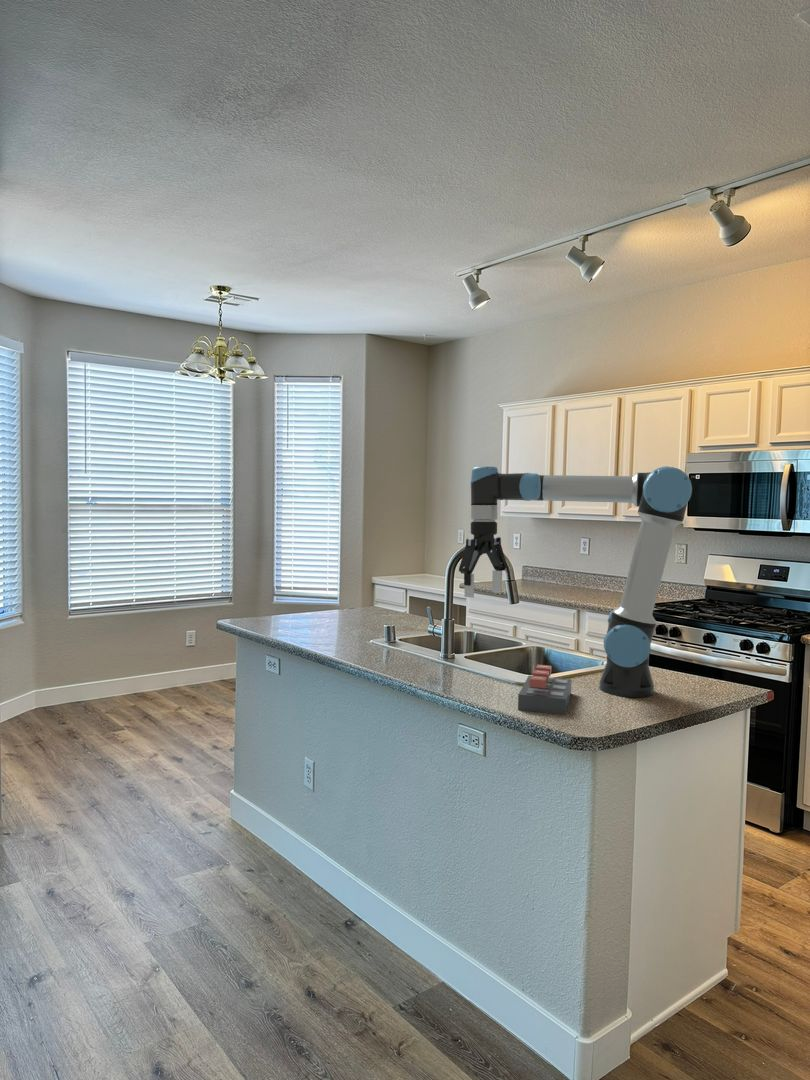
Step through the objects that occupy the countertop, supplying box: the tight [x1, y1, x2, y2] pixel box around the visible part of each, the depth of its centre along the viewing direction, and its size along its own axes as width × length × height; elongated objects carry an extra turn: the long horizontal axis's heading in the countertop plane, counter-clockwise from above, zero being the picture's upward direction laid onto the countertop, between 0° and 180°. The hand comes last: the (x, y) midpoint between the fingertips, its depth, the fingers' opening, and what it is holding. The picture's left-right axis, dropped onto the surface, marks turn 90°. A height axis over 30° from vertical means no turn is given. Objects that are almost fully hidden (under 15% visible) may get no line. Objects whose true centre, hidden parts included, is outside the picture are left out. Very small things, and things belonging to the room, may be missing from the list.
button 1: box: [535, 664, 553, 677], centre depth 208 cm, size 4×4×2 cm
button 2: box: [532, 669, 550, 682], centre depth 201 cm, size 4×4×2 cm
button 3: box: [529, 675, 547, 688], centre depth 195 cm, size 4×4×2 cm
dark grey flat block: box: [517, 675, 573, 715], centre depth 203 cm, size 12×25×4 cm, turn 164°
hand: (483, 595), depth 214 cm, fingers open, 13 cm apart
